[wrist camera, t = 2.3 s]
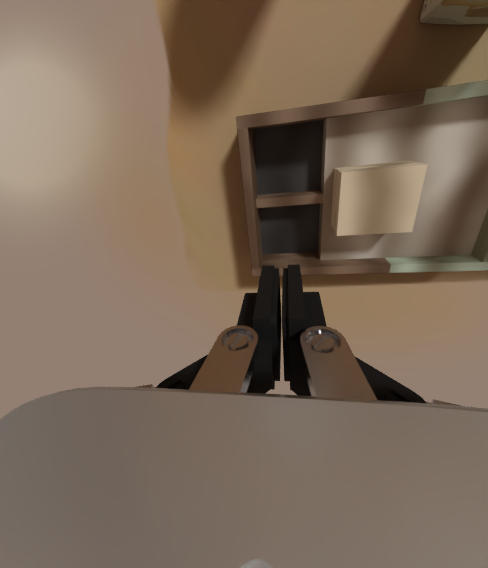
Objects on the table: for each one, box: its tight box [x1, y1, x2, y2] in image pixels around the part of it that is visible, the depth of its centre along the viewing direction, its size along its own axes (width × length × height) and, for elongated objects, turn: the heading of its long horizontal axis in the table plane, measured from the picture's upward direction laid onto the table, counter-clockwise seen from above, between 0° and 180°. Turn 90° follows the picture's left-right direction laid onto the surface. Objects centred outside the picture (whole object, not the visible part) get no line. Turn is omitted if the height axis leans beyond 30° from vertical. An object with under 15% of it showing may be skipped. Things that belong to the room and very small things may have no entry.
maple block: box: [331, 161, 428, 236], centre depth 25 cm, size 7×6×4 cm
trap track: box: [236, 80, 488, 276], centre depth 27 cm, size 26×17×5 cm, turn 96°
